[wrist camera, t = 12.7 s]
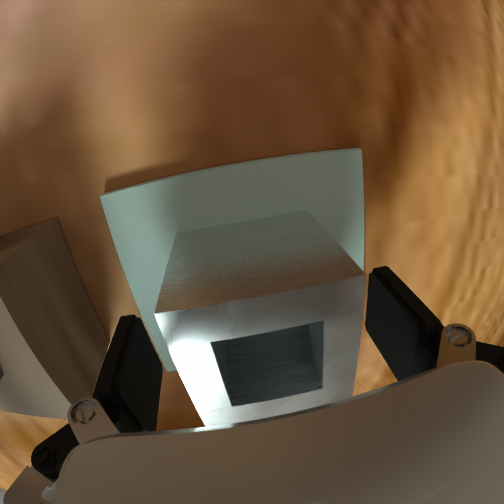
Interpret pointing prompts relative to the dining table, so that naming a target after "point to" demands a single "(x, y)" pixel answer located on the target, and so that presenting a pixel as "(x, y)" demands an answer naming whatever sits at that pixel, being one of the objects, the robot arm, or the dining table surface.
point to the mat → (230, 212)
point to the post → (45, 325)
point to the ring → (262, 317)
